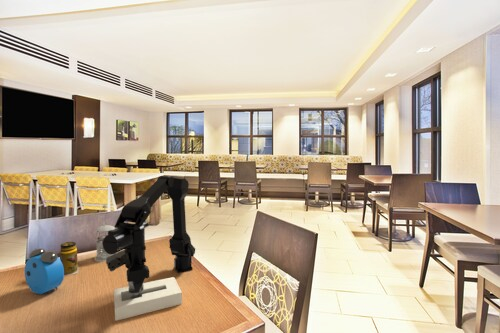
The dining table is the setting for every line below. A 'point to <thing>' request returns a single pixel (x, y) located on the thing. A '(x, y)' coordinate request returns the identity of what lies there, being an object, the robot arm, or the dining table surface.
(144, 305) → the keyhole board
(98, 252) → the french press
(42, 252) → the alarm clock
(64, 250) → the condiment
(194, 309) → the dining table surface
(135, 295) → the keyhole peg
